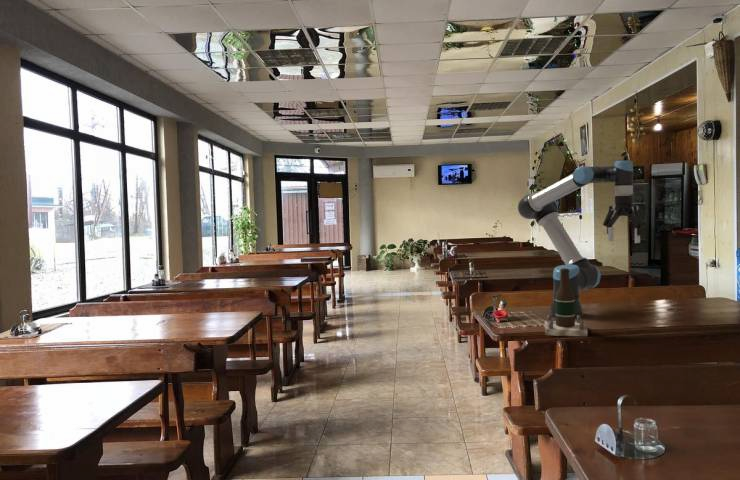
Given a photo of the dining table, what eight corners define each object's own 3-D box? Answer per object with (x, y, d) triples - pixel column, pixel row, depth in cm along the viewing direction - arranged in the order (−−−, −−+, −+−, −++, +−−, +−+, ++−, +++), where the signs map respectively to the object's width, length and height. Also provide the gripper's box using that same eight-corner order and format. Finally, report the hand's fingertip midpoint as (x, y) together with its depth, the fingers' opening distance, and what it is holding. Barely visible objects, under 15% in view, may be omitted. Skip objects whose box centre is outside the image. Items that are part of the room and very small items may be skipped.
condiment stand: (546, 335, 239) (545, 322, 238) (544, 326, 254) (544, 314, 254) (587, 336, 235) (587, 323, 234) (583, 327, 250) (583, 314, 250)
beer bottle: (575, 323, 247) (574, 267, 245) (575, 327, 239) (574, 270, 238) (555, 323, 249) (555, 267, 248) (555, 327, 242) (554, 269, 240)
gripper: (654, 194, 253) (654, 242, 255) (605, 195, 275) (605, 240, 276) (643, 194, 249) (643, 244, 251) (595, 195, 271) (595, 241, 272)
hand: (623, 242), depth 264 cm, fingers open, 13 cm apart
